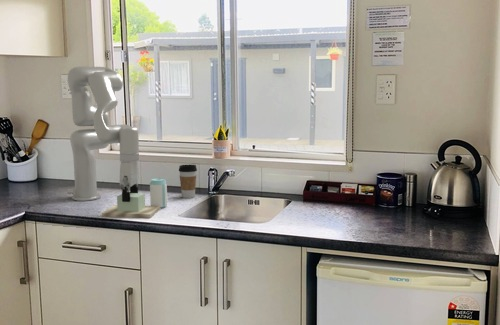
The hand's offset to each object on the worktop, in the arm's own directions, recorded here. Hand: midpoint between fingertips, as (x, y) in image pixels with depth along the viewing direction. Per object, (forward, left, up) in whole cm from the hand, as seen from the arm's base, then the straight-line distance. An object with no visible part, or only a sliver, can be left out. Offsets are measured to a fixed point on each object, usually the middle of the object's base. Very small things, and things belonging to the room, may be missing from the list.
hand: (130, 198), depth 224 cm
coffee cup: (+17, +33, -6) cm, 37 cm away
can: (+9, +12, -6) cm, 16 cm away
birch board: (+1, 0, -6) cm, 6 cm away
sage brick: (0, 0, -4) cm, 4 cm away
